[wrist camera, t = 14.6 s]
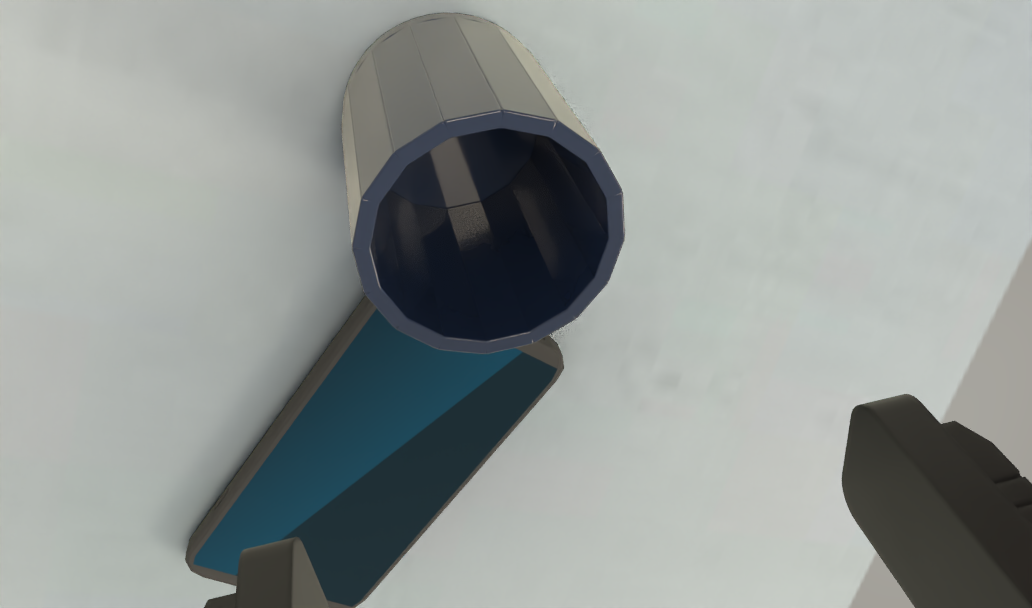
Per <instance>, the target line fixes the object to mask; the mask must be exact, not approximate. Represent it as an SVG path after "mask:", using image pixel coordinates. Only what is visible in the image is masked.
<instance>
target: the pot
mask: <svg viewBox="0 0 1032 608" xmlns="http://www.w3.org/2000/svg"><path fill="white" fill-rule="evenodd" d="M341 131H342V142H343V154H344V165H345V177H346V188H347V199H348V211H349V222H350V234H351V245H352V252H353V255H354V259H355V263H356V266H357V270H358V274H359V277H360V281H361V285H362V288H363V292H364V293H365V295H366V296H367V298H368V299H369V300H370V301H371V302H372V303H373V304H374V306H375V307H376V308H377V309H378V310H379V311H380V312H381V314H382V315H383V316H384V317H385V318H386V319H387V321H388V322H389V323H390V324H391V325H392V326H393V327H394V328H395V329H396V330H398V331H400V332H402V333H404V334H406V335H408V336H411V337H413V338H415V339H417V340H419V341H421V342H423V343H425V344H427V345H429V346H431V347H433V348H435V349H439V350H447V351H457V352H467V353H478V354H485V353H486V354H489V353H494V352H498V351H503V350H507V349H512V348H516V347H521V346H525V345H530V344H533V342H534V343H536V342H537V341H539V340H541V339H543V338H544V337H546V336H548V335H549V334H551V333H553V332H555V331H556V330H558V329H560V328H561V327H563V326H565V325H567V324H568V323H570V322H572V321H573V320H575V319H576V318H577V317H578V316H579V315H580V314H581V313H582V312H583V311H584V310H585V308H586V307H587V306H588V305H589V304H590V303H591V302H592V300H593V299H594V298H595V297H596V296H597V295H598V294H599V292H600V291H601V290H602V289H603V288H604V287H605V286H606V285H607V283H608V281H609V279H610V277H611V274H612V272H613V269H614V266H615V264H616V261H617V258H618V256H619V253H620V250H621V248H622V245H623V242H624V238H625V224H624V204H623V192H622V189H621V187H620V185H619V183H618V181H617V180H616V178H615V176H614V174H613V172H612V170H611V169H610V167H609V165H608V163H607V161H606V160H605V158H604V156H603V154H602V152H601V151H600V149H599V148H598V146H597V145H596V144H595V142H594V141H593V139H592V138H591V136H590V135H589V134H588V132H587V131H586V129H585V128H584V127H583V125H582V124H581V122H580V121H579V120H578V118H577V117H576V115H575V114H574V113H573V111H572V110H571V108H570V107H569V106H568V104H567V103H566V101H565V100H564V98H563V97H562V96H561V94H560V93H559V91H558V90H557V89H556V87H555V86H554V84H553V83H552V82H551V80H550V79H549V77H548V76H547V75H546V73H545V72H544V70H543V69H542V67H541V66H540V65H539V63H538V62H537V60H536V59H535V58H534V56H533V55H532V53H531V52H530V51H529V50H528V49H527V48H525V47H524V46H523V45H522V44H521V43H520V41H518V40H517V39H516V38H515V37H514V36H513V35H511V34H510V33H509V32H507V31H506V30H504V29H503V28H501V27H500V26H498V25H496V24H494V23H492V22H490V21H487V20H485V19H482V18H479V17H475V16H472V15H466V14H460V13H438V14H429V15H425V16H421V17H417V18H414V19H411V20H409V21H406V22H404V23H401V24H400V25H398V26H396V27H394V28H392V29H391V30H389V31H388V32H386V33H385V34H384V35H382V36H381V37H380V38H378V39H377V40H376V41H375V42H374V43H373V44H372V45H371V46H370V47H369V48H368V49H367V50H366V52H365V53H364V54H363V56H362V57H361V58H360V60H359V61H358V63H357V64H356V66H355V68H354V70H353V72H352V74H351V76H350V79H349V81H348V84H347V87H346V91H345V95H344V99H343V109H342V122H341Z"/></svg>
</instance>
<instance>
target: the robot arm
mask: <svg viewBox="0 0 1032 608" xmlns="http://www.w3.org/2000/svg"><path fill="white" fill-rule="evenodd" d="M842 487H843V492H844V496H845V500H846V503H847V505H848V508H849V510H850V512H851V514H852V516H853V518H854V519H855V521H856V522H857V524H858V525H859V527H860V528H861V530H862V531H863V532H864V534H865V535H866V537H867V538H868V540H869V541H870V543H871V544H872V546H873V547H874V548H875V550H876V551H877V553H878V554H879V556H880V557H881V559H882V560H883V562H884V563H885V564H886V566H887V567H888V569H889V570H890V572H891V573H892V575H893V576H894V578H895V579H896V580H897V582H898V583H899V585H900V586H901V588H902V589H903V591H904V592H905V594H906V595H907V596H908V598H909V599H910V601H911V602H912V604H913V605H914V607H915V608H1032V484H1031V483H1030V482H1029V481H1028V480H1027V479H1026V477H1021V476H1020V474H1019V470H1018V469H1017V468H1016V467H1015V466H1014V465H1013V464H1012V463H1011V462H1010V461H1009V460H1008V459H1007V458H1006V457H1005V456H1004V455H1003V453H1002V452H1001V451H1000V450H999V449H998V448H997V447H996V446H995V445H994V444H993V443H992V442H990V441H989V440H987V439H985V438H983V437H982V436H980V435H978V434H977V433H975V432H973V431H971V430H970V429H968V428H966V427H964V426H963V425H961V424H959V423H958V422H956V421H952V422H948V423H944V424H940V423H939V422H938V421H937V419H936V418H935V417H934V416H933V415H932V414H931V413H930V412H929V411H928V410H927V408H926V407H925V406H924V405H923V404H922V403H921V402H920V401H919V400H918V399H917V398H915V397H914V396H912V395H909V394H903V395H899V396H895V397H891V398H886V399H882V400H878V401H874V402H870V403H865V404H861V405H858V406H856V407H855V408H854V409H853V411H852V414H851V419H850V426H849V433H848V439H847V446H846V452H845V459H844V466H843V472H842ZM204 608H329V606H328V602H327V600H326V597H325V595H324V593H323V590H322V588H321V586H320V583H319V581H318V578H317V576H316V574H315V571H314V569H313V567H312V564H311V562H310V559H309V557H308V555H307V552H306V550H305V548H304V545H303V543H302V541H301V540H300V538H299V537H294V538H290V539H286V540H281V541H277V542H273V543H269V544H265V545H260V546H256V547H252V548H248V549H244V550H243V551H242V552H241V554H240V558H239V565H238V576H237V587H236V593H234V594H230V595H226V596H222V597H218V598H213V599H209V600H208V601H207V603H206V605H205V607H204Z"/></svg>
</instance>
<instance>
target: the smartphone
mask: <svg viewBox="0 0 1032 608" xmlns="http://www.w3.org/2000/svg"><path fill="white" fill-rule="evenodd" d="M563 369H564V364H563V357H562V354H561V351H560V349H559V346H558V344H557V343H556V342H555V341H554V340H553V339H552V338H551V337H550V336H549V335H548V336H546V337H544V338H543V339H541V340H539V341H537V342H536V343H534V342H533V344H530V345H525V346H521V347H516V348H512V349H507V350H503V351H498V352H494V353H489V354H486V353H485V354H478V353H467V352H457V351H447V350H439V349H435V348H433V347H431V346H429V345H427V344H425V343H423V342H421V341H419V340H417V339H415V338H413V337H411V336H408V335H406V334H404V333H402V332H400V331H398V330H396V329H395V328H394V327H393V326H392V325H391V324H390V323H389V322H388V321H387V319H386V318H385V317H384V316H383V315H382V314H381V312H380V311H379V310H378V309H377V308H376V307H375V306H374V304H373V303H372V302H371V301H370V300H369V299H368V298H367V296H366V295H365V297H364V298H363V299H362V301H361V302H360V304H359V305H358V306H357V308H356V309H355V310H354V312H353V313H352V315H351V316H350V317H349V319H348V320H347V322H346V323H345V324H344V326H343V327H342V329H341V330H340V331H339V333H338V334H337V335H336V337H335V338H334V340H333V341H332V342H331V344H330V345H329V347H328V348H327V349H326V351H325V352H324V353H323V355H322V356H321V358H320V359H319V360H318V362H317V363H316V365H315V366H314V367H313V369H312V370H311V372H310V373H309V374H308V376H307V377H306V378H305V380H304V381H303V383H302V384H301V385H300V387H299V388H298V390H297V391H296V392H295V394H294V395H293V397H292V398H291V399H290V401H289V402H288V403H287V405H286V406H285V408H284V409H283V410H282V412H281V413H280V415H279V416H278V417H277V419H276V420H275V421H274V423H273V424H272V426H271V427H270V428H269V430H268V431H267V433H266V434H265V435H264V437H263V438H262V440H261V441H260V442H259V444H258V445H257V446H256V448H255V449H254V451H253V452H252V453H251V455H250V456H249V458H248V459H247V460H246V462H245V463H244V465H243V466H242V467H241V469H240V470H239V471H238V473H237V474H236V476H235V477H234V478H233V480H232V481H231V483H230V484H229V485H228V487H227V488H226V489H225V491H224V492H223V494H222V495H221V496H220V498H219V499H218V501H217V502H216V503H215V505H214V506H213V508H212V509H211V510H210V512H209V513H208V514H207V516H206V517H205V519H204V520H203V521H202V523H201V524H200V526H199V527H198V528H197V530H196V531H195V533H194V534H193V535H192V537H191V538H190V540H189V543H188V547H187V551H186V558H185V560H186V563H187V564H188V566H189V568H190V570H191V571H192V572H194V573H196V574H198V575H200V576H202V577H205V578H208V579H212V580H216V581H220V582H224V583H227V584H231V585H235V586H237V576H238V565H239V558H240V554H241V552H242V551H243V550H244V549H248V548H252V547H256V546H260V545H265V544H269V543H273V542H277V541H281V540H286V539H290V538H294V537H299V538H300V540H301V541H302V543H303V545H304V548H305V550H306V552H307V555H308V557H309V559H310V562H311V564H312V567H313V569H314V571H315V574H316V576H317V578H318V581H319V583H320V586H321V588H322V590H323V593H324V595H325V597H326V600H327V602H328V606H329V608H355V607H356V606H358V605H359V604H361V603H362V602H363V601H365V600H366V599H367V597H368V596H369V595H370V594H371V593H372V592H373V591H374V589H375V588H376V587H377V586H378V585H379V584H380V583H381V581H382V580H383V579H384V578H385V577H386V576H387V575H388V573H389V572H390V571H391V570H392V569H393V568H394V567H395V565H396V564H397V563H398V562H399V561H400V560H401V558H402V557H403V556H404V555H405V554H406V553H407V552H408V550H409V549H410V548H411V547H412V546H413V545H414V544H415V542H416V541H417V540H418V539H419V538H420V537H421V536H422V534H423V533H424V532H425V531H426V530H427V529H428V527H429V526H430V525H431V524H432V523H433V522H434V521H435V519H436V518H437V517H438V516H439V515H440V514H441V513H442V511H443V510H444V509H445V508H446V507H447V506H448V505H449V503H450V502H451V501H452V500H453V499H454V498H455V497H456V495H457V494H458V493H459V492H460V491H461V490H462V488H463V487H464V486H465V485H466V484H467V483H468V482H469V480H470V479H471V478H472V477H473V476H474V475H475V474H476V472H477V471H478V470H479V469H480V468H481V467H482V466H483V464H484V463H485V462H486V461H487V460H488V459H489V458H490V456H491V455H492V454H493V453H494V452H495V451H496V449H497V448H498V447H499V446H500V445H501V444H502V443H503V441H504V440H505V439H506V438H507V437H508V436H509V435H510V433H511V432H512V431H513V430H514V429H515V428H516V427H517V425H518V424H519V423H520V422H521V421H522V420H523V419H524V417H525V416H526V415H527V414H528V413H529V412H530V410H531V409H532V408H533V407H534V406H535V405H536V404H537V402H538V401H539V400H540V399H541V398H542V397H543V396H544V394H545V393H546V392H547V391H548V390H549V389H550V388H551V386H552V385H553V384H554V383H555V382H556V381H557V379H558V377H559V376H560V374H561V372H562V371H563Z"/></svg>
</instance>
